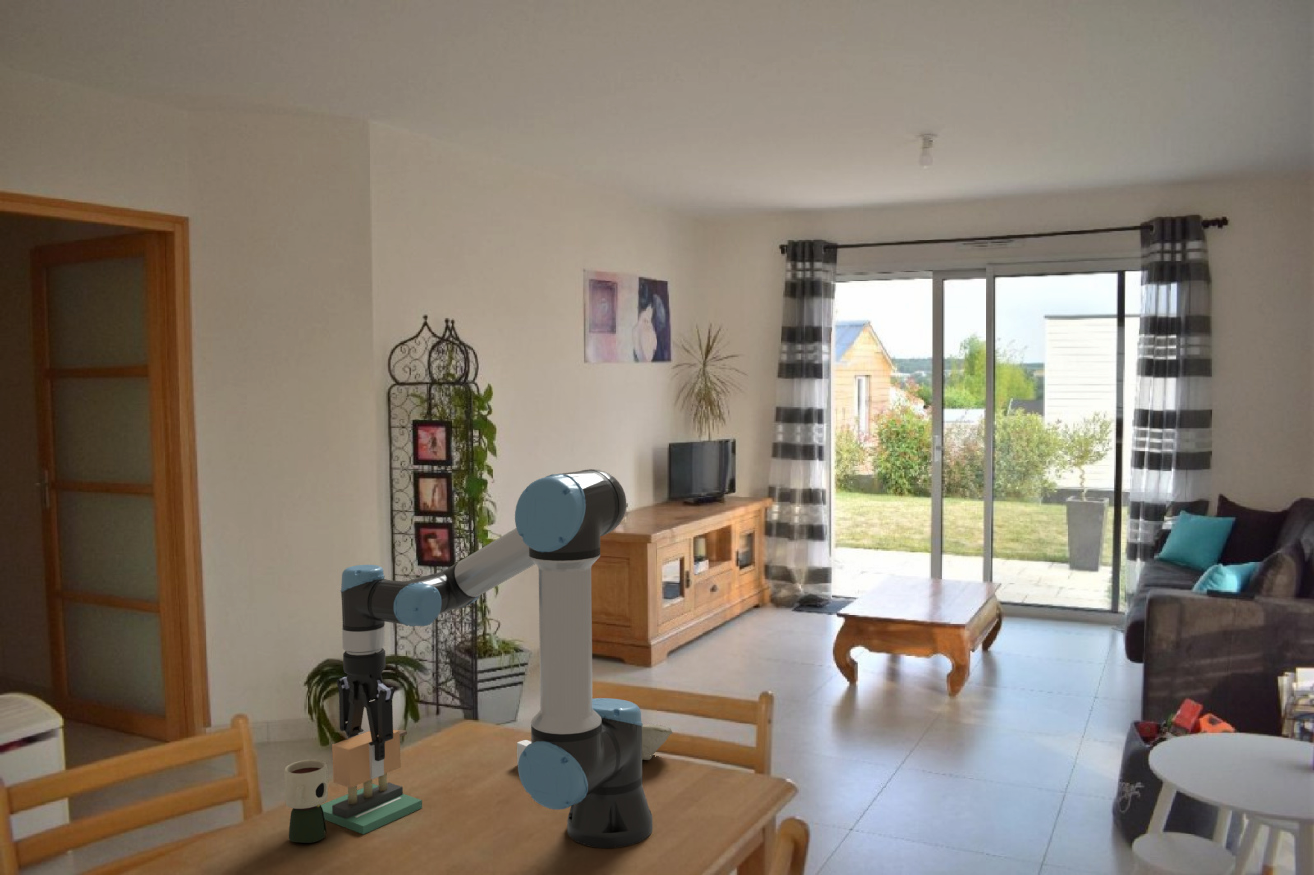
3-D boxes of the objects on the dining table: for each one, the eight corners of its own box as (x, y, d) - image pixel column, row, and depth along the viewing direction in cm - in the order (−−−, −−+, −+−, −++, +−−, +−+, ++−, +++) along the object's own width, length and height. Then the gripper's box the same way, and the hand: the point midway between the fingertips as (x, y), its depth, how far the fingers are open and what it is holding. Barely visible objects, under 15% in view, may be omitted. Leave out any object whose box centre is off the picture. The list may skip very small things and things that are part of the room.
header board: (422, 808, 194) (421, 771, 194) (363, 834, 183) (362, 795, 183) (373, 791, 202) (372, 756, 202) (314, 815, 191) (313, 778, 191)
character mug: (321, 852, 176) (319, 777, 176) (278, 854, 176) (276, 779, 175) (335, 825, 187) (333, 754, 186) (295, 827, 186) (292, 756, 186)
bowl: (680, 751, 222) (680, 705, 222) (663, 775, 209) (662, 726, 208) (614, 745, 226) (613, 700, 226) (593, 768, 213) (592, 720, 212)
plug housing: (412, 762, 198) (411, 726, 198) (350, 788, 186) (349, 750, 186) (396, 757, 201) (394, 721, 200) (333, 782, 189) (332, 744, 189)
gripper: (412, 652, 189) (415, 777, 190) (349, 638, 199) (352, 757, 200) (380, 662, 183) (382, 791, 184) (316, 647, 193) (319, 769, 194)
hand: (367, 773), depth 192 cm, fingers closed on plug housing, 5 cm apart
